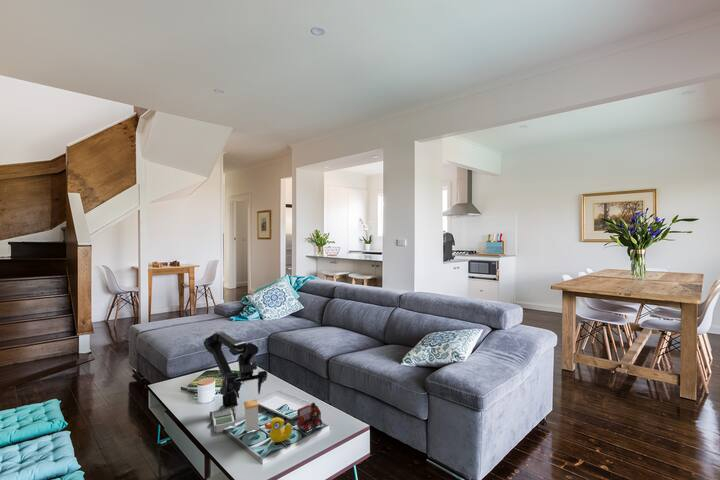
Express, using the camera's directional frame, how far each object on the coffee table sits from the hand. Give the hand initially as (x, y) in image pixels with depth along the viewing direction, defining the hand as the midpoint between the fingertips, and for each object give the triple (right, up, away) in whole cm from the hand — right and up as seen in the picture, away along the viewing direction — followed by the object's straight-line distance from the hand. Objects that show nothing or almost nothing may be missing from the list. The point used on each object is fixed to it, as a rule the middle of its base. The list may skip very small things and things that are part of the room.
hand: (249, 396), depth 175 cm
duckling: (+17, -13, -16) cm, 27 cm away
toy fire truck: (+29, -12, -5) cm, 32 cm away
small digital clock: (-12, -13, +1) cm, 18 cm away
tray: (+13, -13, +15) cm, 23 cm away
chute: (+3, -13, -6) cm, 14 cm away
